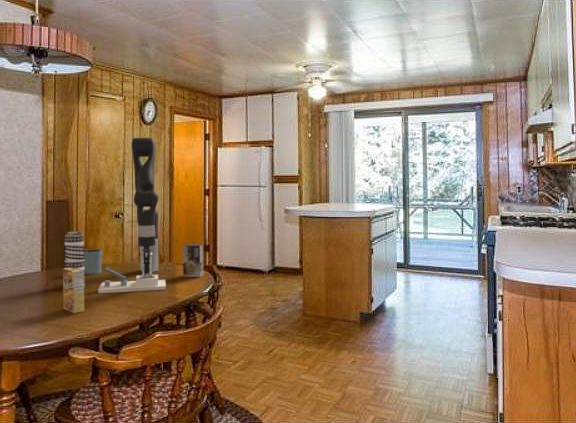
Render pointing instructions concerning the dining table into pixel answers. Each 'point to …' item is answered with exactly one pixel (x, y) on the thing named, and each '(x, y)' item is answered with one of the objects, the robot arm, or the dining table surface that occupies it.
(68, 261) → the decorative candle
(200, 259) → the coffee box
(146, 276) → the steel pin
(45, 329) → the dining table surface
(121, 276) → the latch lever
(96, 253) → the blue cylindrical container
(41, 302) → the dining table surface
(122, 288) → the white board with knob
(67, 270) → the candy box
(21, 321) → the dining table surface
